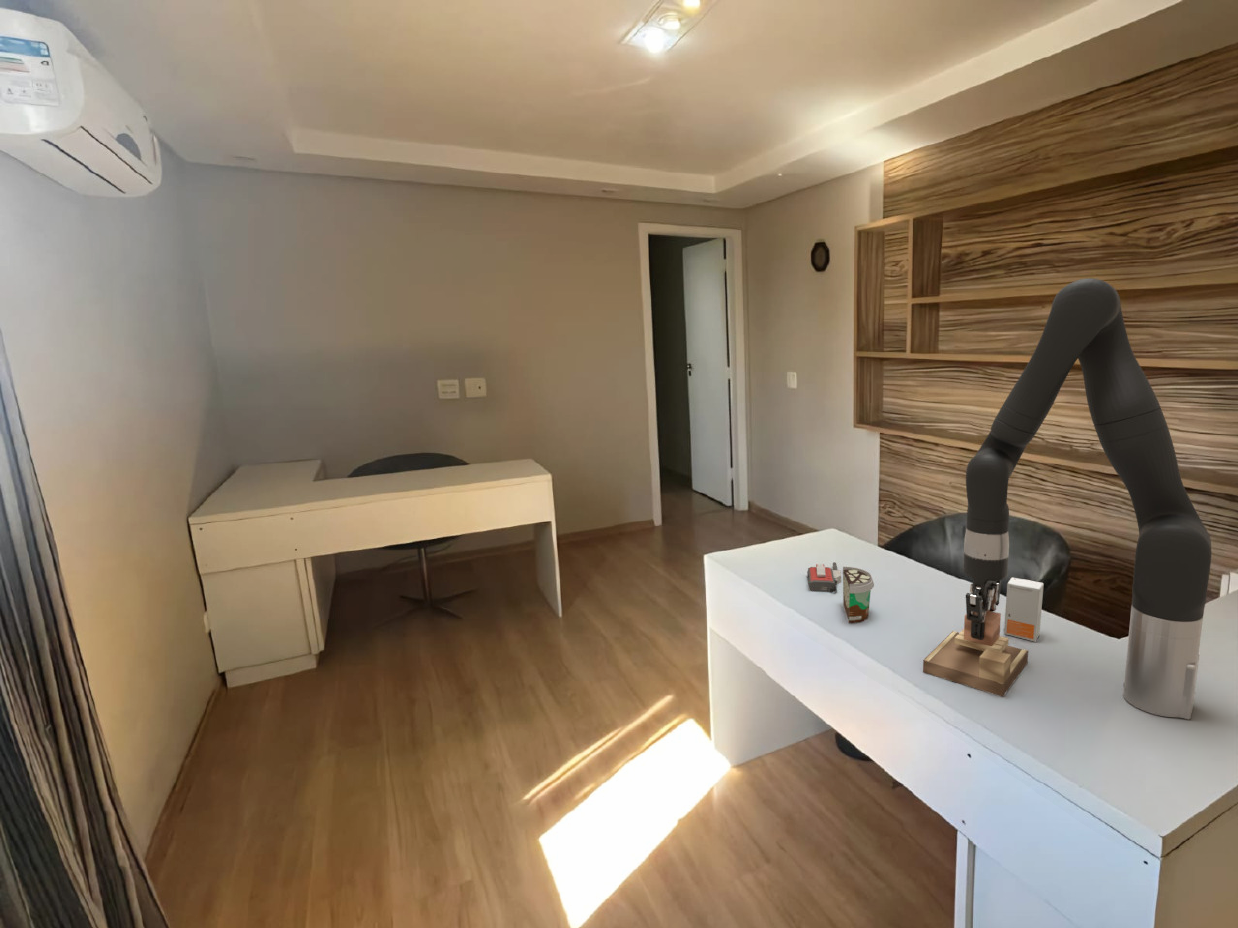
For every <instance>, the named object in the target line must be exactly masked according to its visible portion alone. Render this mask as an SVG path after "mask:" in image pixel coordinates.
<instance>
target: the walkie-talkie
mask: <svg viewBox="0 0 1238 928" xmlns="http://www.w3.org/2000/svg"><path fill="white" fill-rule="evenodd" d="M806 571H807V573H806V574H807V580H808V590H809V591H810V592H813V593H814V592H815V593H818V592H819V593H834V592H837V591H838V589H837V585H839V584H841V583H842V572H841V570H839V569H838V565H837V562H836V561H835V562H832V567H827V566H825V564H823V563H821V564H820V563H818V564H815V566H809V567H808V568H807V570H806Z"/></svg>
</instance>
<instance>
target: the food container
mask: <svg viewBox="0 0 1238 928" xmlns="http://www.w3.org/2000/svg"><path fill="white" fill-rule="evenodd" d="M874 586H875V582H874V579H873V576H872V574H871V573H870V572H868V571H866V570H864V569H861V568H858V567H853V566H842V588H843V589H842V599H843V600H842V601H843V602H842V603H843V604H842V605H843V607H842V608H843V610H844V613H845V616H846V619H847V622H848V624H857V623H862V622H865V621H866V620H868V618H869V612H870V603H871V591H872V590H873V588H874Z"/></svg>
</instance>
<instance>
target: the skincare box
mask: <svg viewBox="0 0 1238 928" xmlns="http://www.w3.org/2000/svg"><path fill="white" fill-rule="evenodd" d="M1044 586H1045V585H1044V583H1043V582H1041V581H1040V582H1038V581H1033V580H1029V579H1023V578H1017V577H1010V579H1009V580H1008V582H1007V584H1006V595H1005V596H1006V597H1005V599H1006V600H1005V611H1004V614H1005V615H1004V625H1003V626H1004V627H1003V634H1004V635H1006V636H1011V637H1015V638H1019V639H1023V640H1027V641H1030V642H1034V643H1035V642H1036V641H1037V639H1038V637H1039V636H1040V633H1041V618H1042V608H1043V607H1042V605H1043V596H1044V595H1043V594H1044Z"/></svg>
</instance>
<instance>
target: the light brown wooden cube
mask: <svg viewBox="0 0 1238 928" xmlns="http://www.w3.org/2000/svg"><path fill="white" fill-rule="evenodd" d="M1010 659H1011V655H1010V654H1006V653H1002V652H998V651H994V650H990V649H986V650H985V651H984V652H983V653H982V655H981V656H980V657H979V677H981V678H985V679H988V680H992V681H996V682H999V683H1003V684H1004V682H1005V681H1006V680H1007V678H1008V677H1009V676H1010Z"/></svg>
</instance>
